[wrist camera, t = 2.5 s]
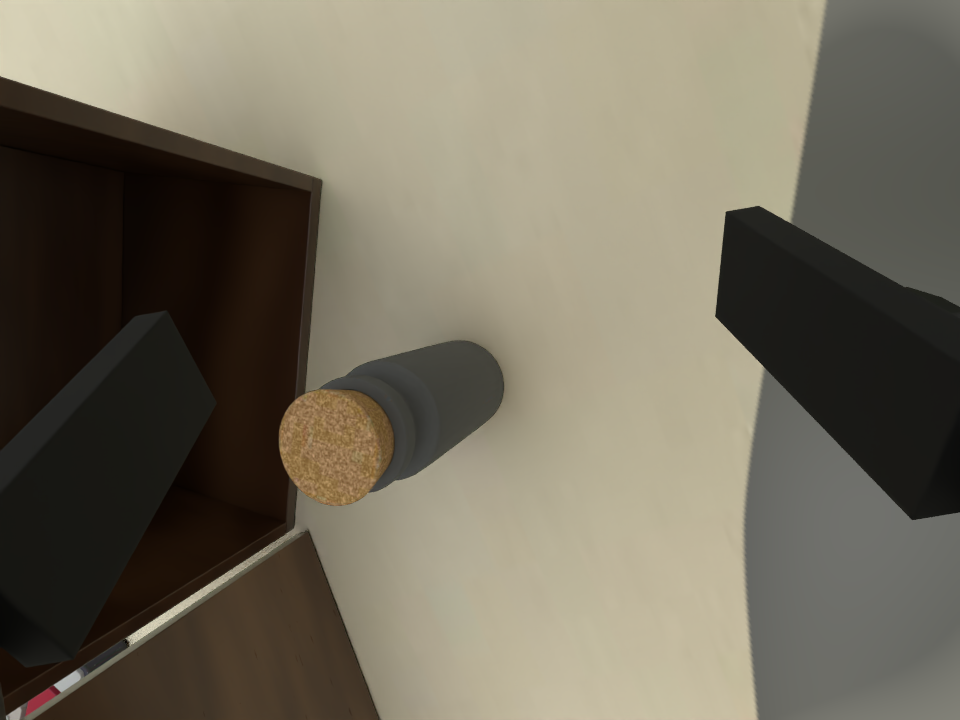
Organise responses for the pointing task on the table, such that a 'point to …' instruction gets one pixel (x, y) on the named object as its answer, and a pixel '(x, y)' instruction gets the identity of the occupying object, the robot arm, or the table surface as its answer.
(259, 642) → the cupboard door
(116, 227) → the cupboard
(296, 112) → the table surface
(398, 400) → the bottle
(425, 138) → the table surface
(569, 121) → the table surface
